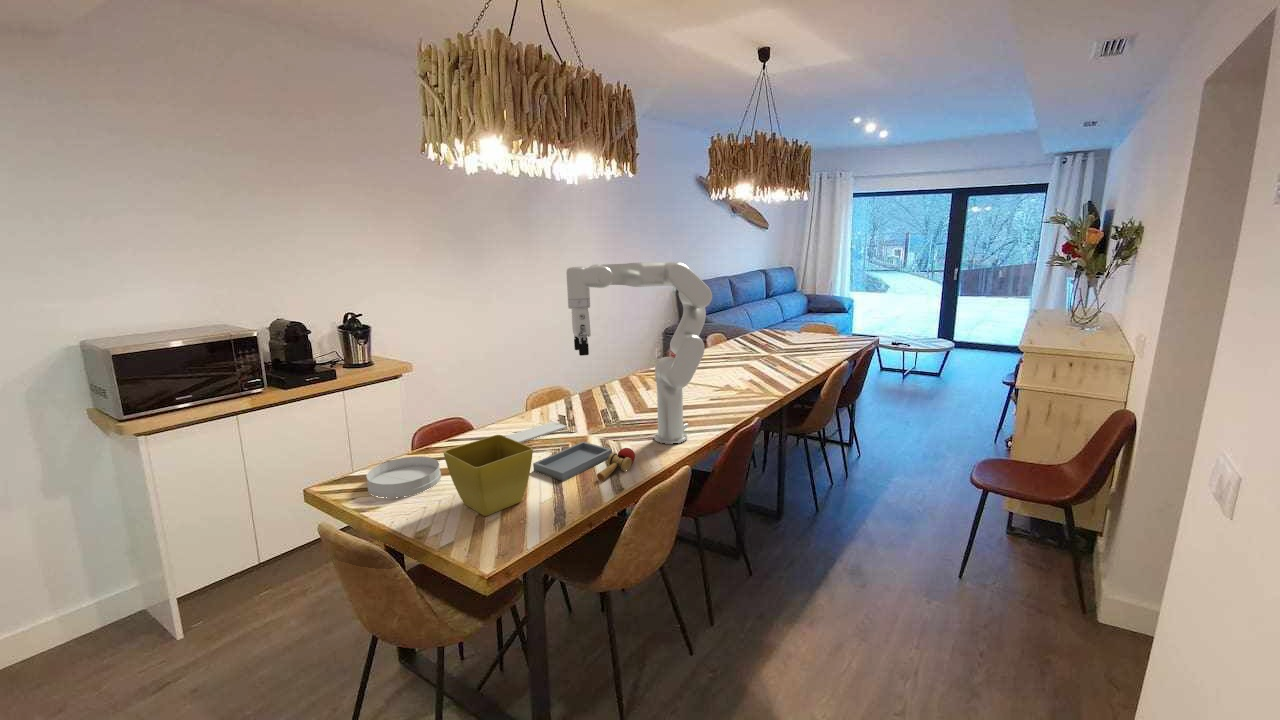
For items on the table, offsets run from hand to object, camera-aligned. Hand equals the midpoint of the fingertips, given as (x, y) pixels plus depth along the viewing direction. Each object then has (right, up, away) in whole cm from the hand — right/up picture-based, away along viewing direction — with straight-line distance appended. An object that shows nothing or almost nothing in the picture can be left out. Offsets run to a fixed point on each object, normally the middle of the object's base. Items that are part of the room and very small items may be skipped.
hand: (581, 352), depth 194 cm
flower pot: (-23, -45, -28) cm, 58 cm away
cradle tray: (-2, -38, -2) cm, 39 cm away
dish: (-56, -43, -13) cm, 72 cm away
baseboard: (-25, -33, +27) cm, 49 cm away
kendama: (+13, -40, -9) cm, 43 cm away
